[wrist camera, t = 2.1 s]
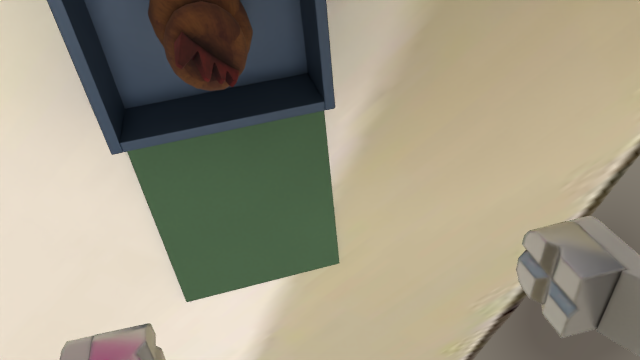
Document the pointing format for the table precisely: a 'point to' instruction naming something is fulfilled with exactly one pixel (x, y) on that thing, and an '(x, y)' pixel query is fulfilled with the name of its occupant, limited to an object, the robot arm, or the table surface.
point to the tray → (181, 98)
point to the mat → (242, 203)
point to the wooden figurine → (203, 39)
